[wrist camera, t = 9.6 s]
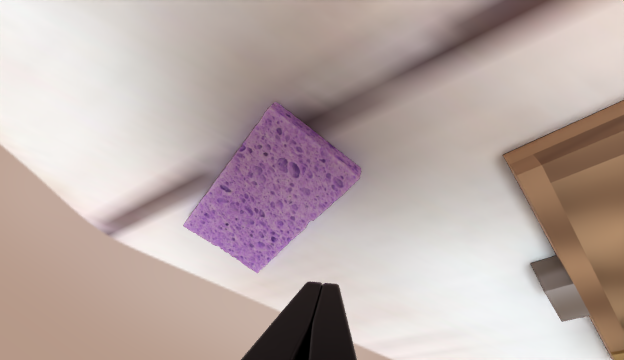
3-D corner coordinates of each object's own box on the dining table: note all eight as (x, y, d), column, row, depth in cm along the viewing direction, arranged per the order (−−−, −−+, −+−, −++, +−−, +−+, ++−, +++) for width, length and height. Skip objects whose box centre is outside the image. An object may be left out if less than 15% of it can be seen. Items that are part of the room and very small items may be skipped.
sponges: (363, 165, 22) (361, 179, 20) (262, 261, 28) (255, 277, 27) (277, 95, 21) (268, 105, 19) (192, 212, 27) (180, 227, 25)
